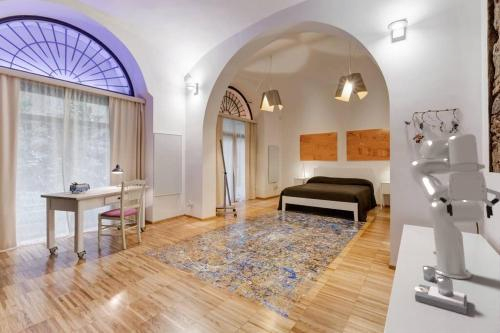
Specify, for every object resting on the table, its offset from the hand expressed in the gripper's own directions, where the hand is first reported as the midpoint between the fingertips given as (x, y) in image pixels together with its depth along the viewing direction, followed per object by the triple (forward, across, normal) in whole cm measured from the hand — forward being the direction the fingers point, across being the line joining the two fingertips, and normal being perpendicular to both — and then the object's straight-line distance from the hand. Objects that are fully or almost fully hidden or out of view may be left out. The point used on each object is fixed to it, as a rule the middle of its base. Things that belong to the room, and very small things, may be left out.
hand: (469, 216), depth 81 cm
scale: (+28, +9, +10) cm, 31 cm away
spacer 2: (+26, +8, +10) cm, 28 cm away
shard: (+29, +11, -42) cm, 52 cm away
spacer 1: (+28, +14, -7) cm, 32 cm away
